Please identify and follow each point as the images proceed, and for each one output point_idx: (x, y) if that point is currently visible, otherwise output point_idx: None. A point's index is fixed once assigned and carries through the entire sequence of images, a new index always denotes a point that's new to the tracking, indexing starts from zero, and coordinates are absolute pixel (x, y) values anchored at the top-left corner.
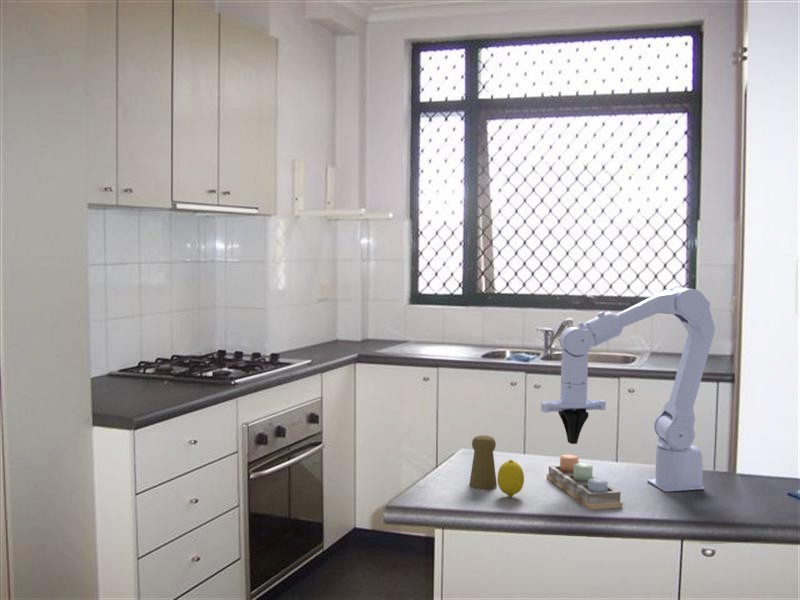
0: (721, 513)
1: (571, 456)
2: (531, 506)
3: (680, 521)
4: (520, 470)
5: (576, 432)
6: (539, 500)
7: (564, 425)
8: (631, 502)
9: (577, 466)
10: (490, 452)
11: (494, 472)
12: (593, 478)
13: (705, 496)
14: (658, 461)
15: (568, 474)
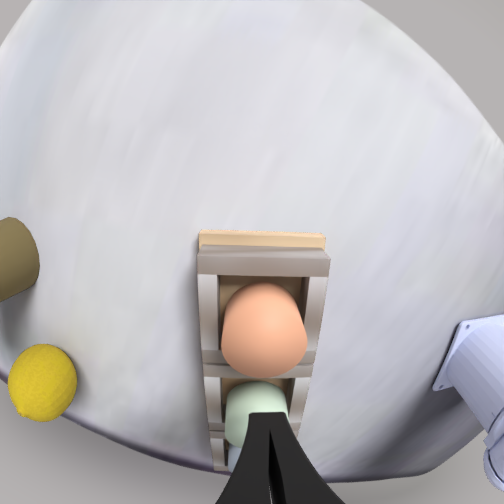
0: (409, 456)
1: (280, 339)
2: (102, 408)
3: (332, 481)
4: (53, 419)
5: (271, 496)
6: (123, 391)
7: (225, 490)
8: (324, 432)
9: (233, 436)
10: None
11: (10, 290)
12: (290, 403)
13: (461, 400)
14: (477, 395)
15: (228, 366)
